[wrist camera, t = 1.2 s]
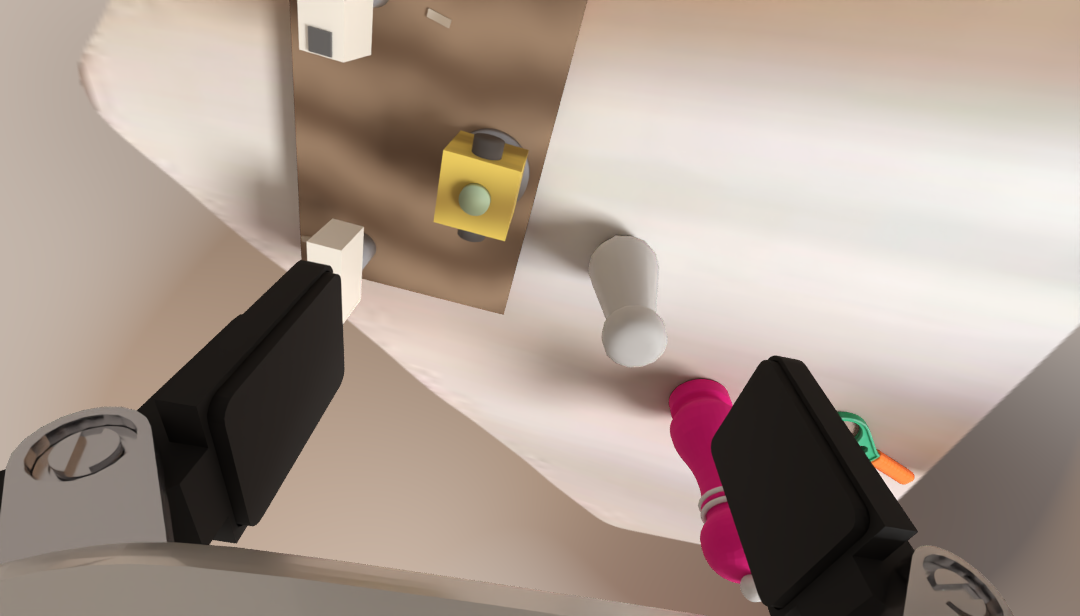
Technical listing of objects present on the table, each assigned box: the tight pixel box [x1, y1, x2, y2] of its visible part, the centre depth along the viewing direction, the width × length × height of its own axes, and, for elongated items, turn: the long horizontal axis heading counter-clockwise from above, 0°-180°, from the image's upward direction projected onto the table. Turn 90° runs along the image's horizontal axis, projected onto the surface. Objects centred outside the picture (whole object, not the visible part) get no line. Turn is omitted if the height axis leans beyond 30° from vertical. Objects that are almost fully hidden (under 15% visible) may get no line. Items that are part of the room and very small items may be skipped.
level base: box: [290, 0, 587, 314], centre depth 32 cm, size 26×19×9 cm
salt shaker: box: [588, 235, 667, 367], centre depth 35 cm, size 6×6×13 cm
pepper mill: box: [669, 379, 761, 602], centre depth 41 cm, size 7×7×20 cm
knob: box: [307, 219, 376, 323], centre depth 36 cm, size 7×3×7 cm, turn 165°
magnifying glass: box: [838, 412, 914, 484], centre depth 51 cm, size 15×6×2 cm, turn 57°
